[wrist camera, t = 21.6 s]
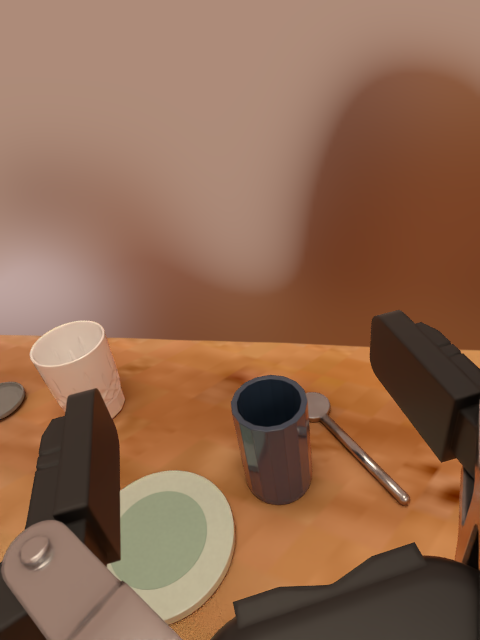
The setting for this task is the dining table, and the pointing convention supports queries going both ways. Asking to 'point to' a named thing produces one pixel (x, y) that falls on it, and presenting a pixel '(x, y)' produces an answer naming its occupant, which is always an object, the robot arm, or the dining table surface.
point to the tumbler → (274, 438)
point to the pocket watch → (10, 397)
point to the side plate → (174, 541)
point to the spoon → (352, 444)
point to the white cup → (78, 363)
